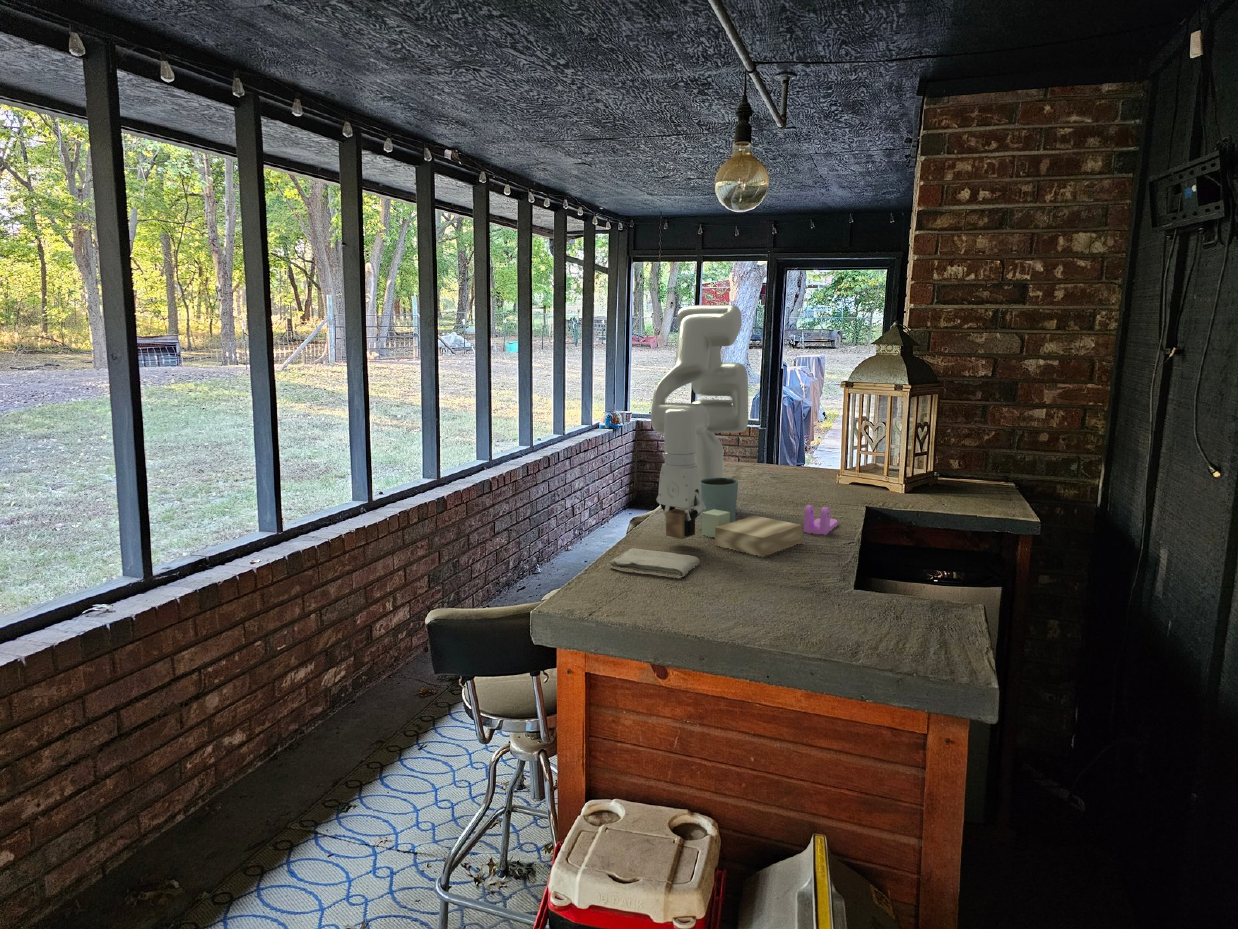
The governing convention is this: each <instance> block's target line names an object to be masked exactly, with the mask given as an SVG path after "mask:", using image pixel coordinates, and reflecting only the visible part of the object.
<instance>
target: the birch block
mask: <svg viewBox="0 0 1238 929" xmlns="http://www.w3.org/2000/svg"><path fill="white" fill-rule="evenodd" d="M802 527H803V525H802V524H799V523H794V522H789V521H784V520H779V519H774V518H769V517H763V516H759V515H751V516H749V517H748V516H747V517H745V518H741V519H739V520H735V522H732V523H728V524H725V525H721V526H718V527H715V538H714V546H715V545H717V546H716V547H719V546H720V548H723V549H727V548H729V549H728V550H731V549H733V550H732V551H735V550H736V552H739V551H743V552H742V553H744V552H746V553H745V554H748V553H749V554H748V555H751V556H756V555H758V556H757V557H760V556H761V558H765V557H767V556H771V555H773V554H776V553H778V552H780V551H784V550H787V549H789V548H792V547H794V545H795V546H797V545H796V544H798V545H800V544H802V540H803V539H802V534H803V533H802V532H803V528H802ZM786 548H787V549H786ZM783 549H784V550H783ZM777 551H778V552H777ZM775 552H776V553H775ZM766 555H767V556H766ZM764 556H765V557H764Z"/></svg>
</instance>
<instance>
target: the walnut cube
mask: <svg viewBox="0 0 1238 929" xmlns="http://www.w3.org/2000/svg"><path fill="white" fill-rule="evenodd" d="M690 513H691V509H690ZM685 520H687V519H686V515H685V510H684V509H681V508H676V509H673V510H670V511H666V516H665V536H667V537H669V538H670V537H671V538H675V539H679V540H684V539H688V538H690V537H693V536H696V533H695V534H694V535H691V536H688V537H686V536H685Z"/></svg>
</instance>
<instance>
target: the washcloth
mask: <svg viewBox="0 0 1238 929" xmlns="http://www.w3.org/2000/svg"><path fill="white" fill-rule="evenodd" d="M699 564H700V559H699V557H697V556H694V555H689V554H680V553H676V552H675V553H674V552H671V551H668V552H667V551H658V550H651V549H641V548H635V547H634V548H629V549H626V550H625V551H624V552H623V553H622V554H620V555H618V556H617V557H615V558H613V559H612V560H610V561H609V566H611V565H612V566H613V567H617V568H618V567H620V568H628V569H633V570H637V571H643V572H656V573H662V574H667V575H679V576H682V577H683V576H685V575H686V574H687V575H688V573H689V572H688V571H690V570H691V569H692V568H694V569H695V568H696V567H698V566H699ZM695 566H696V567H695ZM691 571H692V570H691ZM691 571H690V572H691ZM687 575H686V576H687ZM686 576H685V577H686Z"/></svg>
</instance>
